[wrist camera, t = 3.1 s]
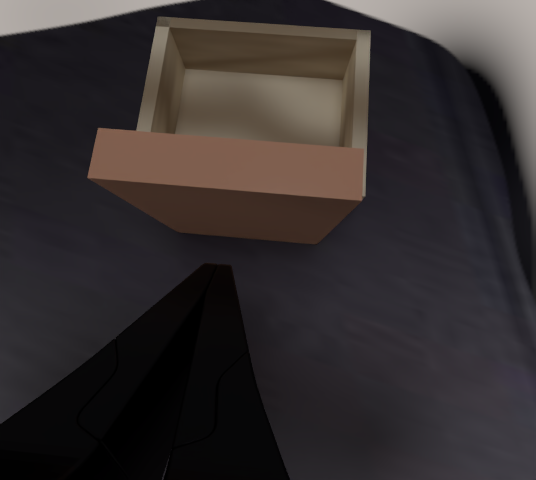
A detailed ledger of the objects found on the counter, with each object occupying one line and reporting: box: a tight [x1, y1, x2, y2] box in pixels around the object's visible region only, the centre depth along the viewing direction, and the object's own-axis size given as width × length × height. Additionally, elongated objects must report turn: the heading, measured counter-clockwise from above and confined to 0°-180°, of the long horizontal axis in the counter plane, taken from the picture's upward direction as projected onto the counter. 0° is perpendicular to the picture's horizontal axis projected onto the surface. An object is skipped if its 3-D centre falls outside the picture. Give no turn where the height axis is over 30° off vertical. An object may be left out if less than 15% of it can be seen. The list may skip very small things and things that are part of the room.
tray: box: [136, 17, 371, 199], centre depth 15 cm, size 9×11×3 cm
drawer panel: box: [88, 128, 364, 244], centre depth 12 cm, size 2×8×8 cm, turn 85°
